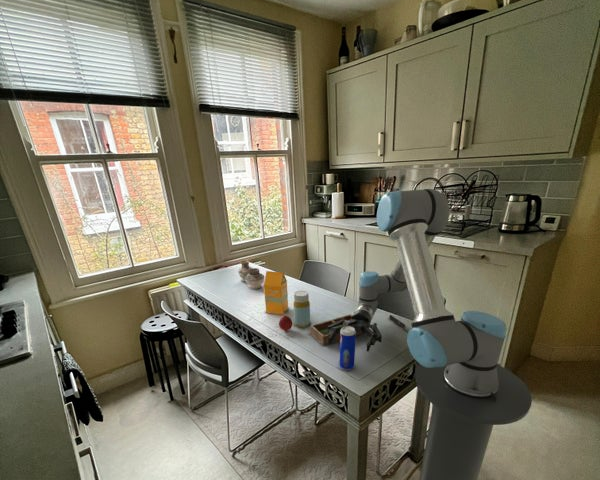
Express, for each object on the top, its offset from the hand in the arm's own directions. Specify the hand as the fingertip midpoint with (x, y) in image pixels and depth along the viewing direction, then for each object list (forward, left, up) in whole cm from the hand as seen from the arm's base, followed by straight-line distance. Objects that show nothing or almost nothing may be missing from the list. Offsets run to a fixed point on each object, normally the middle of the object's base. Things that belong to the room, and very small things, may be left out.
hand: (348, 344), depth 109 cm
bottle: (+35, 0, -9) cm, 36 cm away
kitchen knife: (+10, -36, -9) cm, 38 cm away
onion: (+33, +9, -9) cm, 36 cm away
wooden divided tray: (+20, -9, -8) cm, 24 cm away
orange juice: (+54, +4, -9) cm, 55 cm away
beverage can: (-1, +1, -9) cm, 9 cm away
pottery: (+96, +3, -9) cm, 97 cm away
